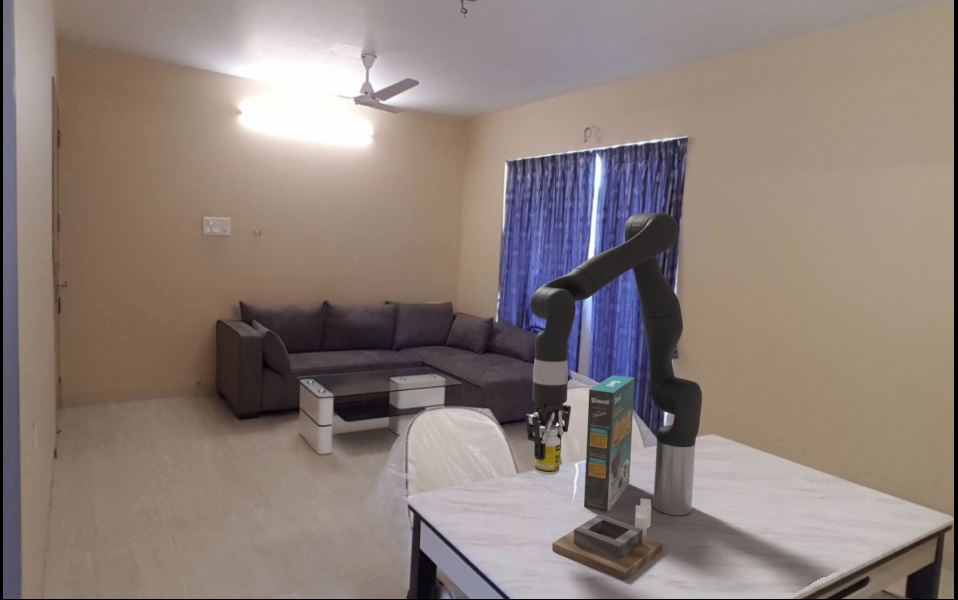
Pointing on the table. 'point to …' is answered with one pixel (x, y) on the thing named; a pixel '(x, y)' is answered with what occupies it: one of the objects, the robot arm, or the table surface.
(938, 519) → the table surface
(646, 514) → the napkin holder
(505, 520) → the table surface
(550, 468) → the supplement bottle
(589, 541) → the wooden board with frame
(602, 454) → the cake mix box
